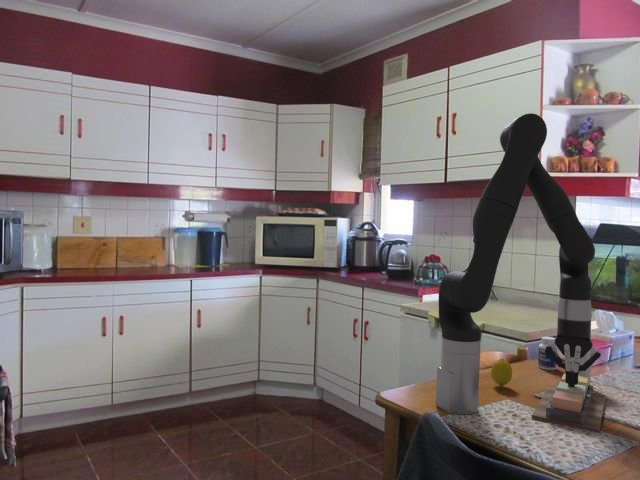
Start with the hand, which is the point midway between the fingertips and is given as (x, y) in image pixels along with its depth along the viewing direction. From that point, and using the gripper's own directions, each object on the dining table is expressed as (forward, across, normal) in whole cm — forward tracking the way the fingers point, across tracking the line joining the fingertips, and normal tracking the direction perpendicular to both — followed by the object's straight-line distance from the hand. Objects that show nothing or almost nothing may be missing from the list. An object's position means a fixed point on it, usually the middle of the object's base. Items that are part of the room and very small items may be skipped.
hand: (571, 385), depth 132 cm
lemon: (+6, -18, +7) cm, 21 cm away
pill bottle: (+6, -10, +37) cm, 39 cm away
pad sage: (+3, 0, 0) cm, 3 cm away
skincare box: (+6, +1, +19) cm, 20 cm away
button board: (+5, 0, 0) cm, 5 cm away
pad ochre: (+3, 0, +9) cm, 9 cm away
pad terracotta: (+3, 0, -9) cm, 10 cm away
